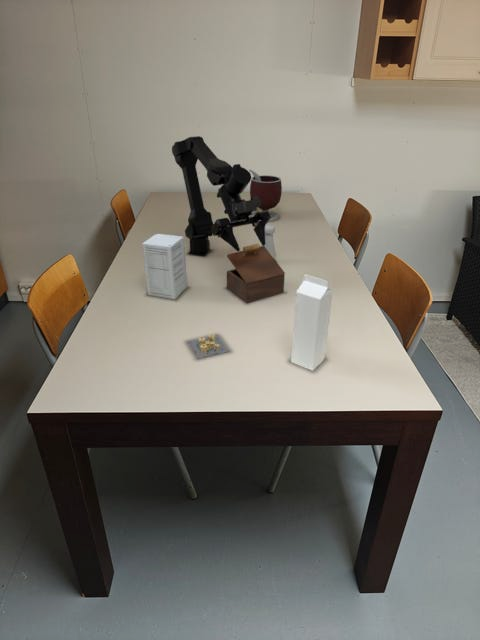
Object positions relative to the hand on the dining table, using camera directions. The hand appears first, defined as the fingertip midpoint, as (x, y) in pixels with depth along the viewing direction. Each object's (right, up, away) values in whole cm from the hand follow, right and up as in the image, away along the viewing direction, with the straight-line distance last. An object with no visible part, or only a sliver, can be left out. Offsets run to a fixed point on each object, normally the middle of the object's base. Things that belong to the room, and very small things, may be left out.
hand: (251, 247), depth 138 cm
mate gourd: (+7, +25, +70) cm, 74 cm away
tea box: (+1, -12, +5) cm, 14 cm away
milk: (+13, -32, -27) cm, 44 cm away
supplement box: (-26, -13, +4) cm, 29 cm away
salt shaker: (+6, -1, +25) cm, 26 cm away
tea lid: (+1, -5, +1) cm, 5 cm away
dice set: (-12, -29, -22) cm, 38 cm away
